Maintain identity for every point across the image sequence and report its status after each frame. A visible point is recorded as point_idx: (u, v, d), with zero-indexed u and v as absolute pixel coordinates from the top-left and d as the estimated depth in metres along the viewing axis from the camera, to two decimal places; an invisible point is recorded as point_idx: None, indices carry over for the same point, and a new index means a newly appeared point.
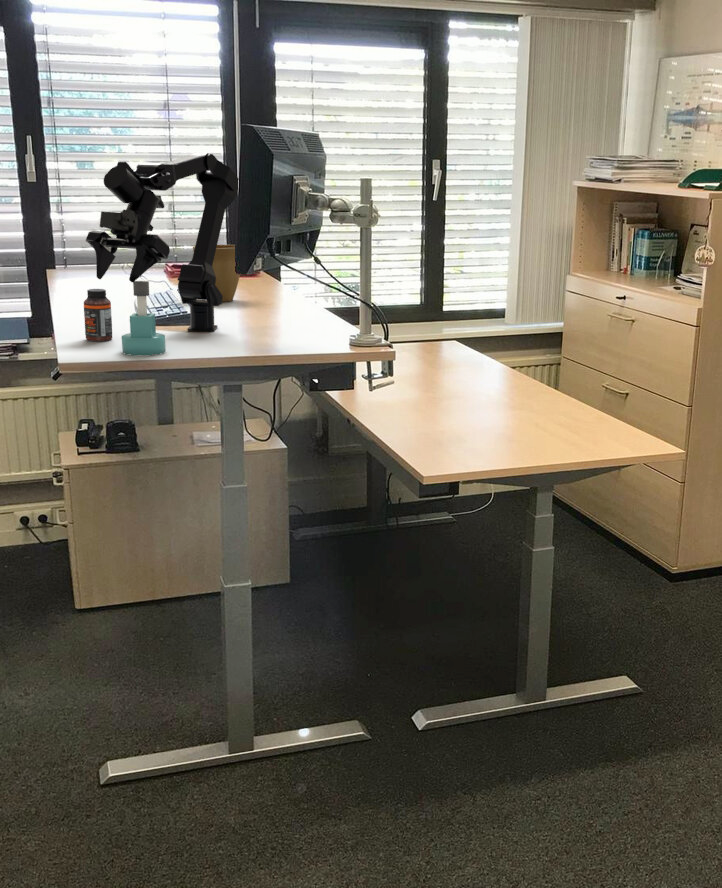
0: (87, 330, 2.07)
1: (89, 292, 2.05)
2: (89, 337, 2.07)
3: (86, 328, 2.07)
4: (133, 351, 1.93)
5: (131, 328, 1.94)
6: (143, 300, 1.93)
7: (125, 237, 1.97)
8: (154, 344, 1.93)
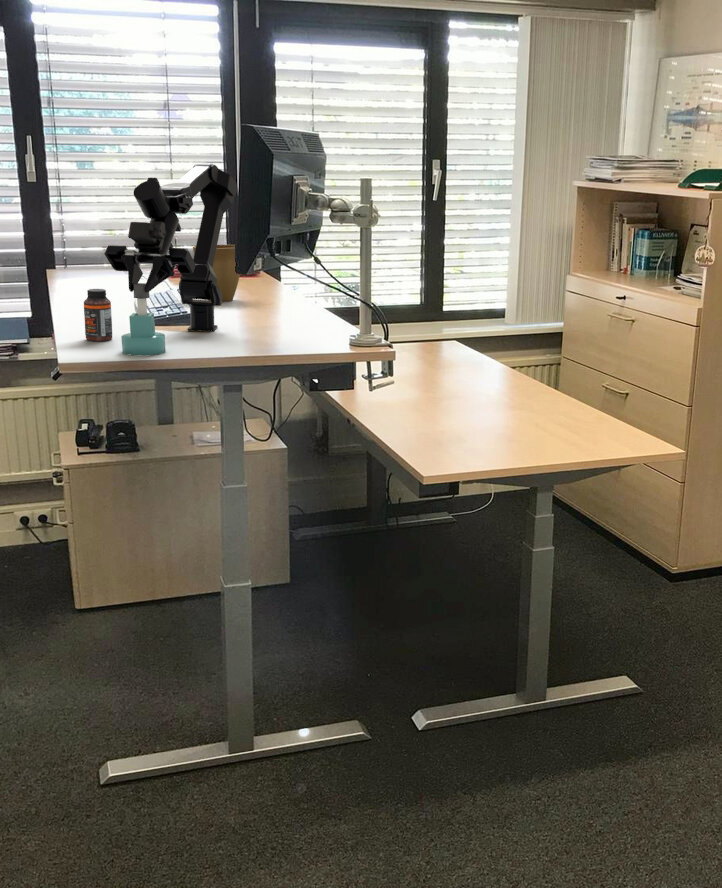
0: (87, 330, 2.07)
1: (89, 292, 2.05)
2: (89, 337, 2.07)
3: (86, 328, 2.07)
4: (134, 350, 1.93)
5: (131, 328, 1.93)
6: (143, 302, 1.93)
7: (147, 252, 1.97)
8: (155, 343, 1.94)
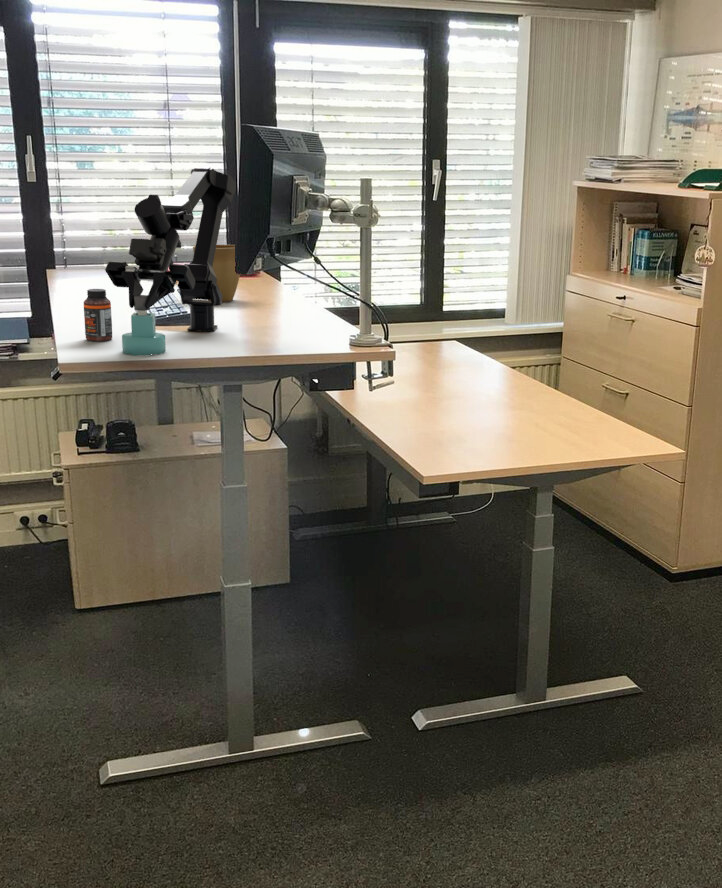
0: (87, 330, 2.07)
1: (89, 292, 2.05)
2: (89, 337, 2.07)
3: (86, 328, 2.07)
4: (135, 350, 1.93)
5: (132, 327, 1.93)
6: (144, 314, 1.94)
7: (147, 269, 1.97)
8: (156, 344, 1.94)
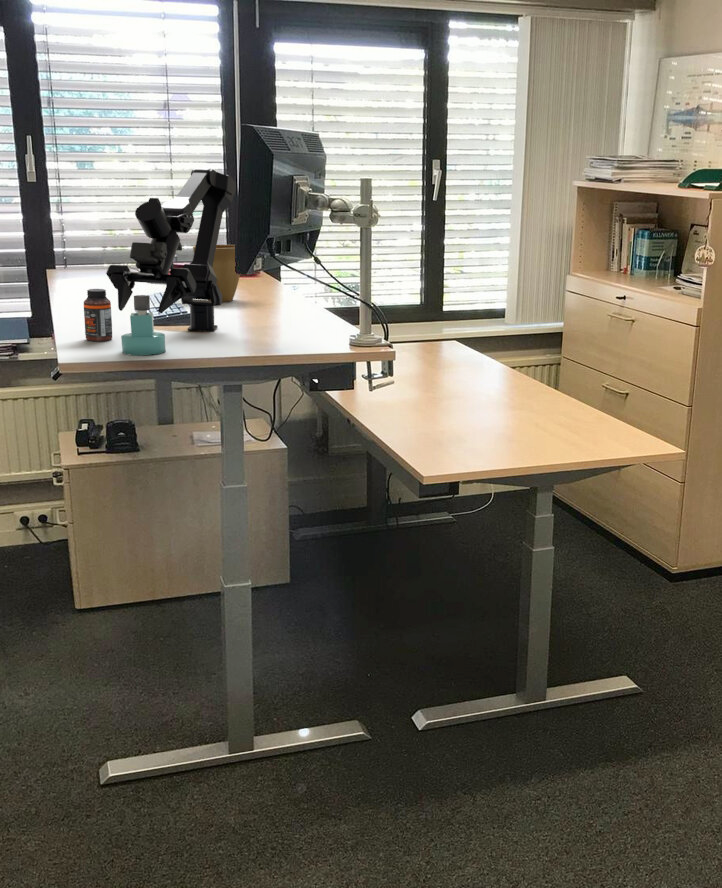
0: (87, 330, 2.07)
1: (89, 292, 2.05)
2: (89, 337, 2.07)
3: (86, 328, 2.07)
4: (136, 350, 1.93)
5: (132, 328, 1.93)
6: (144, 314, 1.94)
7: (148, 272, 1.98)
8: (157, 343, 1.94)
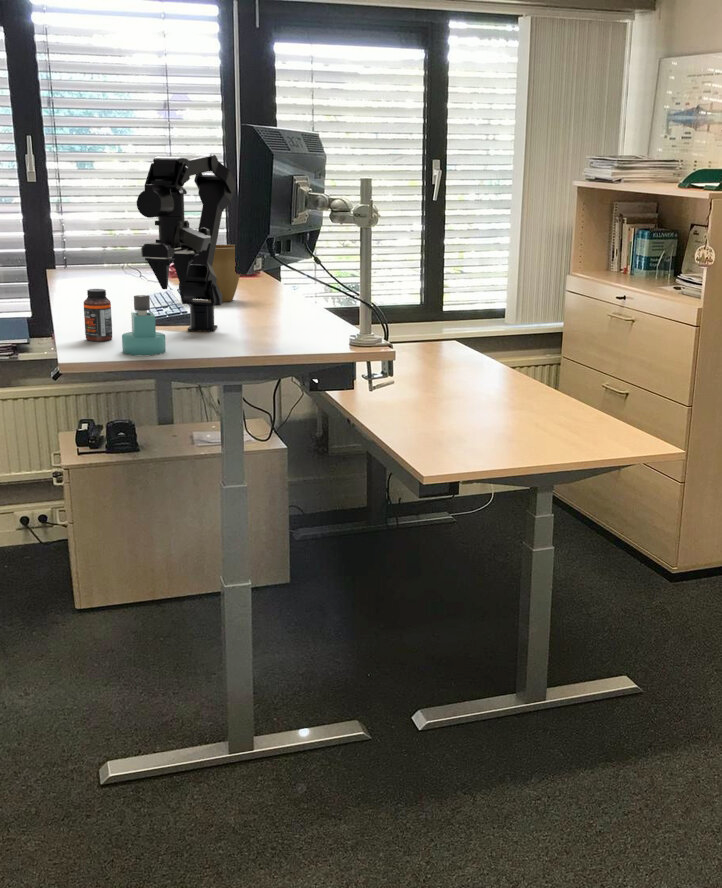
0: (87, 330, 2.07)
1: (89, 292, 2.05)
2: (89, 337, 2.07)
3: (86, 328, 2.07)
4: (140, 351, 1.93)
5: (135, 328, 1.93)
6: (144, 314, 1.94)
7: None
8: (160, 343, 1.95)
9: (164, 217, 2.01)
